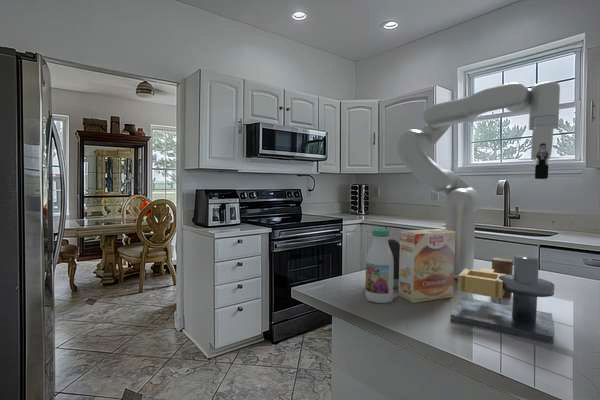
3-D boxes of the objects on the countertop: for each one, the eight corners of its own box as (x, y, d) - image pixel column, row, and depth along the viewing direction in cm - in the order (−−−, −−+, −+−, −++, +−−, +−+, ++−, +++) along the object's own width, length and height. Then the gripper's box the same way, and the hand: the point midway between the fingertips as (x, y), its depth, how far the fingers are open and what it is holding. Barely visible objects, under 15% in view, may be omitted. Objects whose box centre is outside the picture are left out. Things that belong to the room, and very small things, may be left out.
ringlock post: (450, 320, 83) (452, 255, 82) (463, 302, 96) (465, 245, 96) (552, 343, 72) (556, 268, 71) (551, 319, 85) (554, 255, 84)
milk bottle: (375, 293, 104) (376, 227, 103) (398, 299, 98) (399, 230, 97) (359, 299, 98) (361, 229, 97) (383, 306, 93) (385, 232, 92)
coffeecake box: (413, 303, 95) (415, 233, 94) (397, 295, 102) (398, 230, 101) (454, 297, 101) (456, 231, 100) (436, 290, 107) (438, 228, 106)
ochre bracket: (458, 291, 86) (458, 275, 85) (468, 278, 97) (469, 264, 97) (502, 298, 80) (502, 281, 80) (507, 284, 92) (508, 269, 92)
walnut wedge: (490, 296, 102) (492, 259, 101) (492, 292, 105) (493, 257, 105) (510, 299, 99) (512, 262, 99) (511, 296, 102) (513, 259, 102)
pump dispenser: (396, 292, 104) (397, 243, 103) (368, 284, 112) (369, 238, 111) (414, 286, 111) (415, 239, 110) (386, 279, 119) (388, 235, 118)
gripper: (529, 128, 117) (527, 179, 118) (528, 120, 102) (526, 178, 103) (556, 126, 113) (554, 179, 113) (560, 118, 98) (557, 178, 99)
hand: (541, 178), depth 108 cm, fingers open, 9 cm apart
